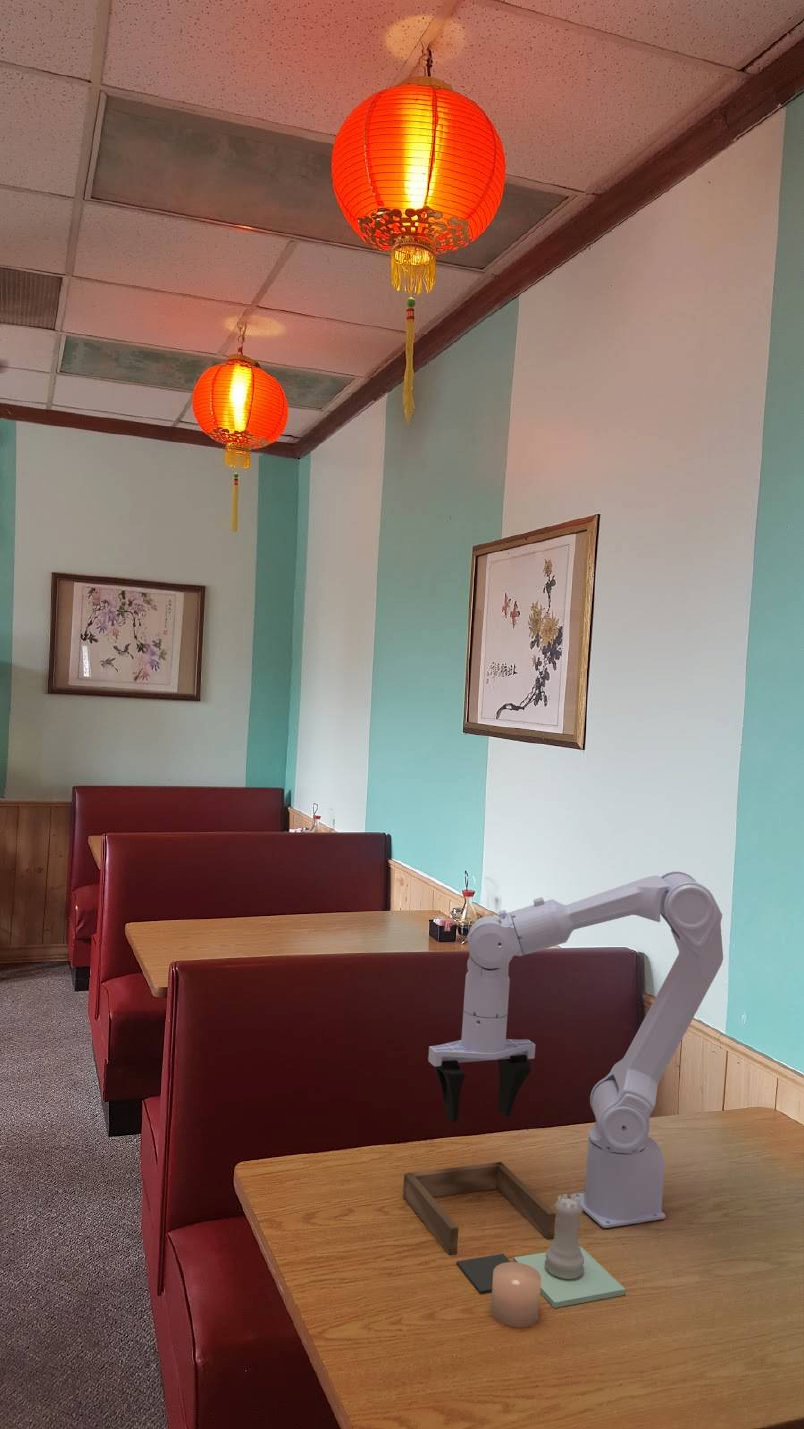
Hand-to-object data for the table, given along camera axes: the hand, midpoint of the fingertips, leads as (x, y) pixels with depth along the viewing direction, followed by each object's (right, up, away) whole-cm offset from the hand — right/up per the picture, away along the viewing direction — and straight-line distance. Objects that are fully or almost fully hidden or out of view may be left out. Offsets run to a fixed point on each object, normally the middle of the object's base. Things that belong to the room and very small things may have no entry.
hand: (478, 1115), depth 130 cm
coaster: (+9, -11, -18) cm, 23 cm away
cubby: (-1, -10, -5) cm, 12 cm away
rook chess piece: (+8, -11, -17) cm, 22 cm away
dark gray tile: (0, -11, -18) cm, 21 cm away
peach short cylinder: (+2, -11, -25) cm, 27 cm away
